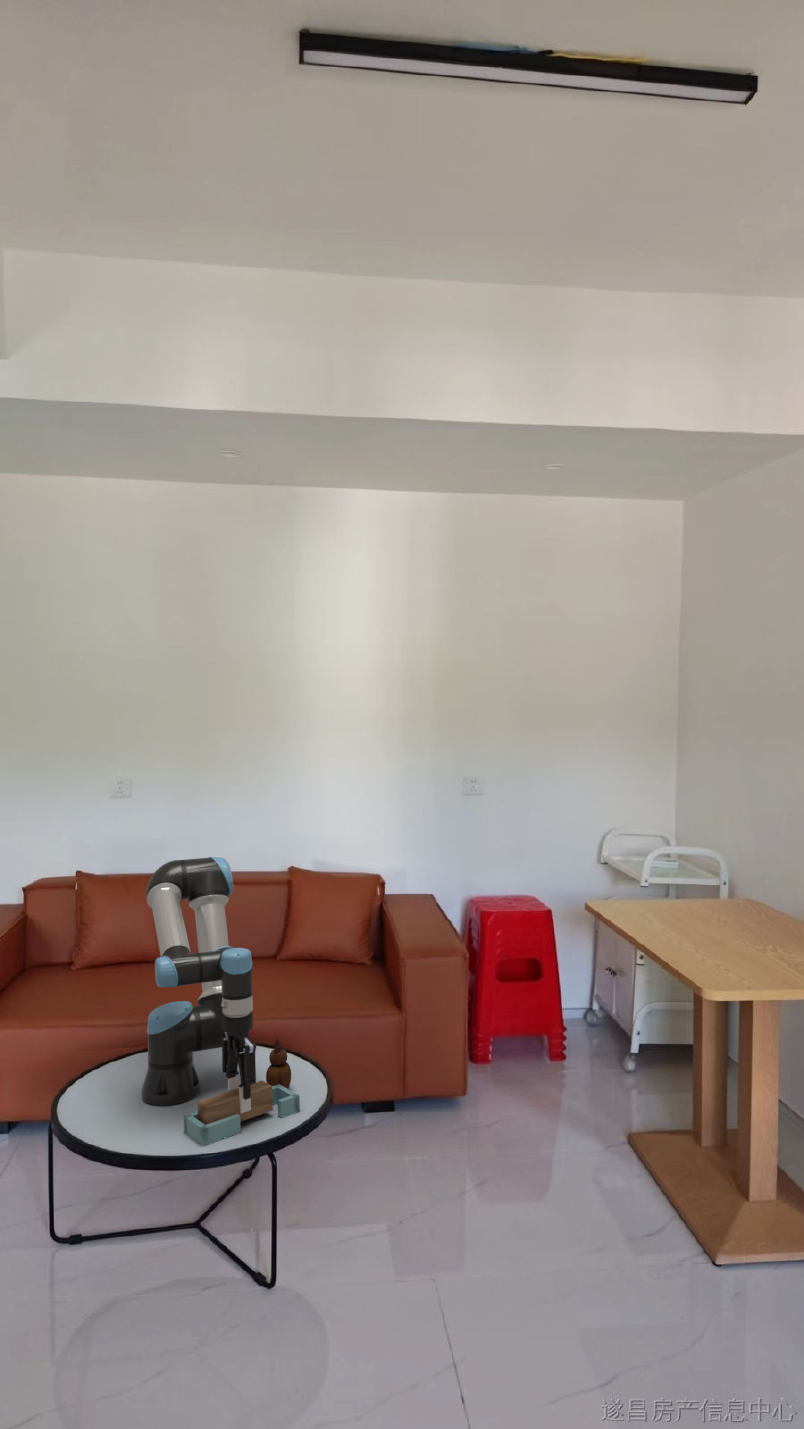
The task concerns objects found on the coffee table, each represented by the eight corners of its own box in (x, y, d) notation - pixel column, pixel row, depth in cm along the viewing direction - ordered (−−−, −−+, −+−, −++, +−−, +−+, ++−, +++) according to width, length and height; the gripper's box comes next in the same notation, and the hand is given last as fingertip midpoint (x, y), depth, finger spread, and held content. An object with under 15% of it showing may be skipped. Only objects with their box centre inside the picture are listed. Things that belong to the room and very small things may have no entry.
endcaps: (184, 1132, 208) (183, 1115, 208) (279, 1099, 225) (279, 1084, 225) (202, 1146, 201) (202, 1129, 201) (299, 1111, 218) (299, 1095, 218)
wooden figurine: (279, 1098, 226) (277, 1041, 226) (262, 1094, 229) (261, 1037, 229) (295, 1089, 231) (294, 1033, 232) (279, 1085, 234) (277, 1030, 235)
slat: (197, 1126, 208) (197, 1101, 208) (262, 1103, 219) (261, 1080, 219) (207, 1133, 204) (207, 1107, 204) (272, 1110, 215) (272, 1086, 216)
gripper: (206, 1008, 217) (208, 1100, 217) (242, 1025, 203) (244, 1124, 203) (233, 1001, 222) (234, 1091, 222) (269, 1018, 208) (271, 1114, 208)
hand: (239, 1107), depth 212 cm, fingers closed on slat, 5 cm apart
